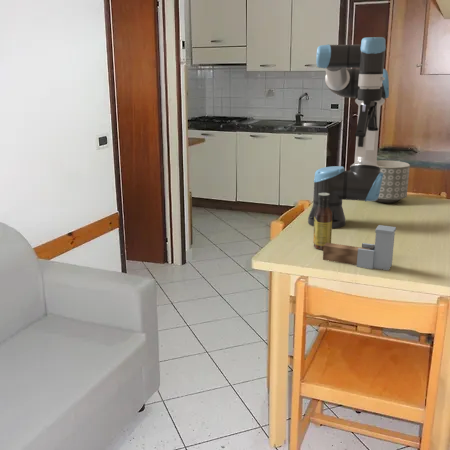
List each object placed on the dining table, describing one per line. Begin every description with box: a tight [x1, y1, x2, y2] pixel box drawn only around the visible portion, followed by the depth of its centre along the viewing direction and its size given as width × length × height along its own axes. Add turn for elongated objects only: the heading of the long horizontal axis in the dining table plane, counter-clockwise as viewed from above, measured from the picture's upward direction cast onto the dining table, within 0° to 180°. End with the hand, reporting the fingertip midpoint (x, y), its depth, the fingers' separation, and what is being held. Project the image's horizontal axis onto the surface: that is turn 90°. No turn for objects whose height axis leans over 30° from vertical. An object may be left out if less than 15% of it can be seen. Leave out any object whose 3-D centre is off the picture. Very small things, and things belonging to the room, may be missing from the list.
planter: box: [376, 159, 411, 204], centre depth 253 cm, size 19×19×18 cm
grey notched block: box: [356, 224, 397, 271], centre depth 170 cm, size 10×7×13 cm
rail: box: [322, 242, 375, 266], centre depth 175 cm, size 16×4×6 cm, turn 64°
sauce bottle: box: [312, 193, 333, 251], centre depth 187 cm, size 7×6×20 cm
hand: (365, 153), depth 178 cm, fingers open, 13 cm apart
